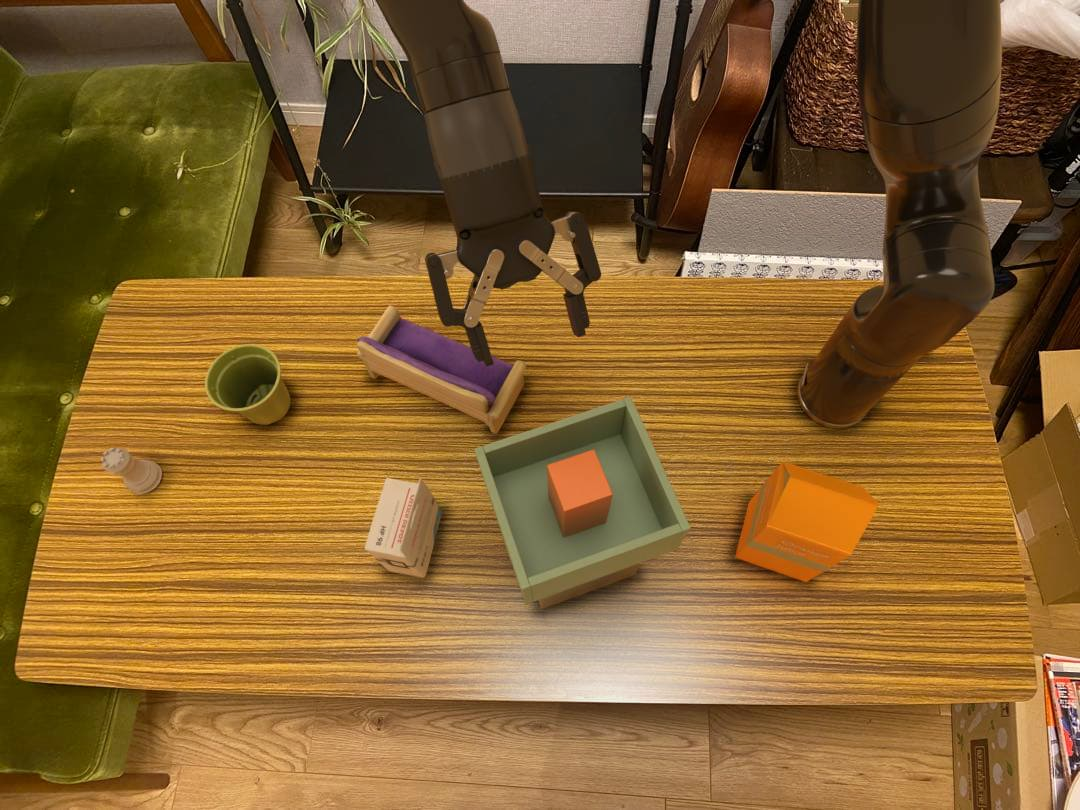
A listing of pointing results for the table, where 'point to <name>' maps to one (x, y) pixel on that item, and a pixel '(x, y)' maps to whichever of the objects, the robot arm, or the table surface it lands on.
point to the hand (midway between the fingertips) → (534, 348)
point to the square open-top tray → (624, 540)
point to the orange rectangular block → (579, 492)
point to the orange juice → (803, 522)
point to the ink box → (404, 527)
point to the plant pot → (248, 384)
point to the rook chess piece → (132, 470)
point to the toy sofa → (441, 368)
